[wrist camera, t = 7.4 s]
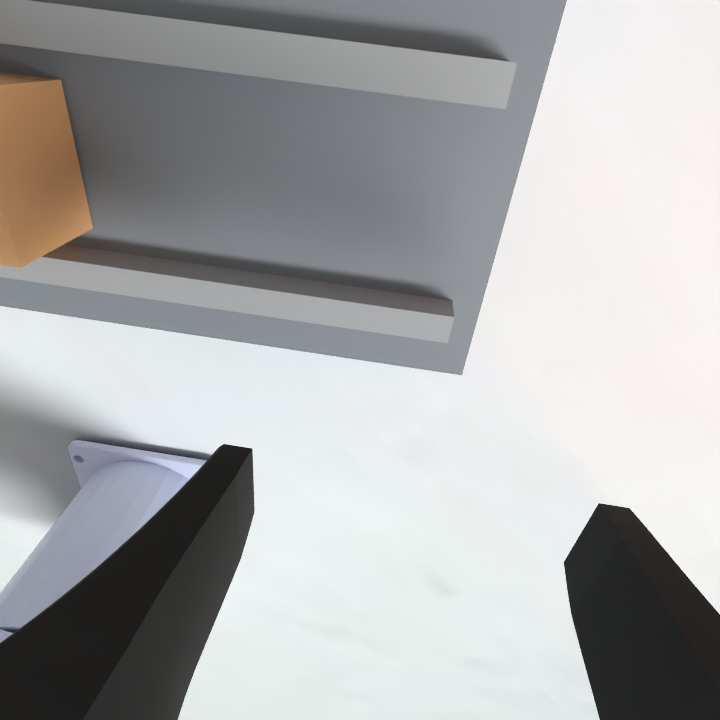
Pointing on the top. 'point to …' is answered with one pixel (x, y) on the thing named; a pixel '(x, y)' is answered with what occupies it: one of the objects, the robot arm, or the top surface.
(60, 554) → the robot arm
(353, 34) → the rails
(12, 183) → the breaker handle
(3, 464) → the top surface
